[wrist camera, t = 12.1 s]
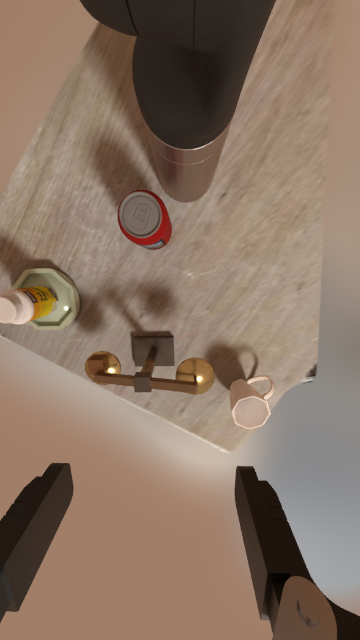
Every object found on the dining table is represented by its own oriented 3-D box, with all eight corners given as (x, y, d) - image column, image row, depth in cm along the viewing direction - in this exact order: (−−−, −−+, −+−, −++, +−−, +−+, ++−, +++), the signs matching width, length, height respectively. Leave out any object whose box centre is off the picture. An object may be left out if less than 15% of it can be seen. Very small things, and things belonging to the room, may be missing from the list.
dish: (13, 268, 40) (5, 268, 39) (75, 266, 40) (71, 266, 38) (25, 329, 43) (19, 331, 42) (84, 328, 43) (80, 330, 41)
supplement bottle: (65, 296, 41) (27, 305, 31) (52, 319, 42) (12, 336, 32) (39, 279, 40) (-9, 283, 30) (26, 303, 41) (-24, 315, 31)
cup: (216, 386, 46) (223, 411, 38) (253, 358, 44) (268, 377, 36) (237, 408, 47) (247, 436, 39) (274, 380, 45) (292, 404, 37)
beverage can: (128, 239, 39) (105, 227, 27) (144, 202, 37) (126, 173, 26) (162, 257, 39) (152, 252, 28) (178, 221, 38) (176, 202, 26)
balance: (104, 364, 45) (67, 409, 31) (101, 337, 43) (60, 371, 29) (206, 362, 44) (217, 408, 30) (207, 335, 43) (218, 369, 29)
